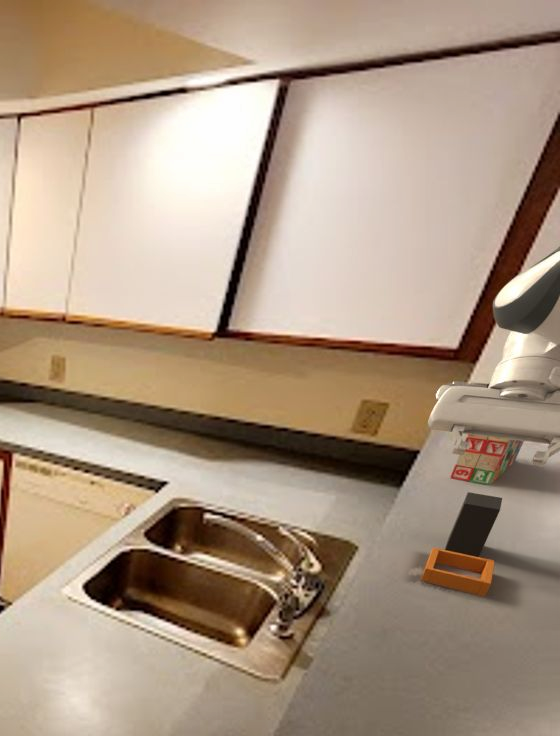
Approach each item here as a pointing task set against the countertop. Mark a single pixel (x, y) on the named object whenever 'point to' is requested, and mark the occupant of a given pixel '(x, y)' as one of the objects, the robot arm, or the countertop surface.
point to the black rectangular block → (473, 524)
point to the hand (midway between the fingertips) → (497, 458)
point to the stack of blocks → (484, 458)
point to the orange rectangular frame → (456, 579)
